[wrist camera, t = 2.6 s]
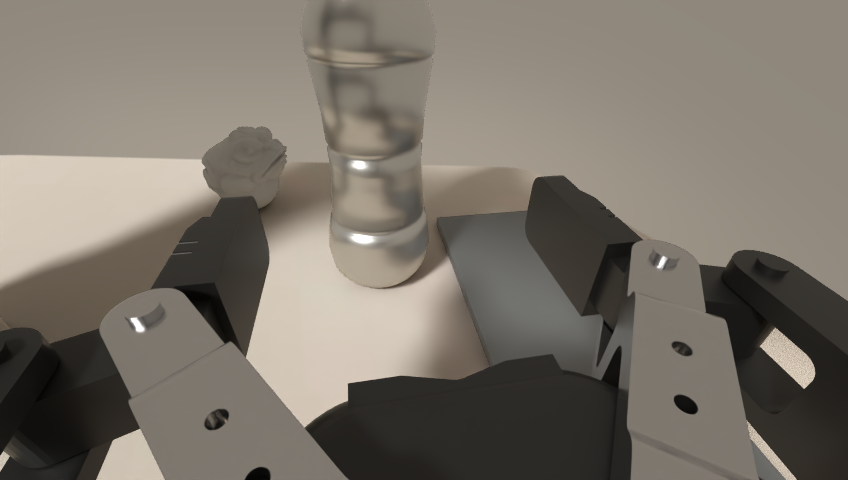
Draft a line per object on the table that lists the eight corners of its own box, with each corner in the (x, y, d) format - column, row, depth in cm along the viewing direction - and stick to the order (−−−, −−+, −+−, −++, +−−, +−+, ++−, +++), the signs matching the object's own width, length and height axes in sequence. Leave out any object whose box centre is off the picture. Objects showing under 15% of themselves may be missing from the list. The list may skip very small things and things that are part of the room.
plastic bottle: (313, 279, 25) (233, -132, 14) (372, 231, 30) (350, -103, 19) (393, 316, 23) (377, -150, 11) (444, 257, 28) (469, -111, 16)
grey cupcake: (280, 229, 30) (261, 145, 26) (199, 221, 31) (167, 139, 27) (308, 193, 35) (295, 118, 31) (238, 187, 36) (216, 113, 32)
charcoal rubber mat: (587, 625, 12) (593, 621, 12) (436, 223, 31) (436, 217, 31) (838, 558, 14) (849, 553, 13) (548, 214, 33) (549, 209, 33)
